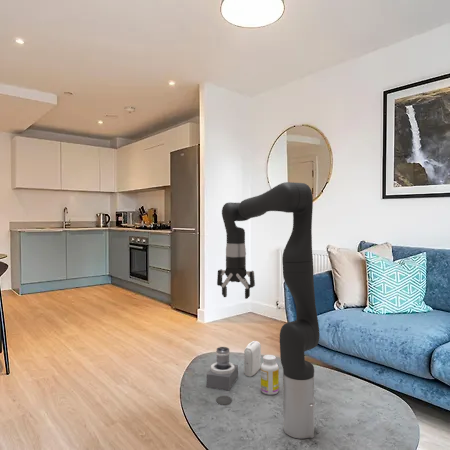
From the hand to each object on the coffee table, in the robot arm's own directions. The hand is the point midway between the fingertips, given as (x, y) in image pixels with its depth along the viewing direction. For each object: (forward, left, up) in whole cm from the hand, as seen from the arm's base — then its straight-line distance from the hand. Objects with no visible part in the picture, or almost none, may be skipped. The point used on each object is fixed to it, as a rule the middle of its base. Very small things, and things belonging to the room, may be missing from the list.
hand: (235, 297), depth 139 cm
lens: (+6, -2, -29) cm, 30 cm away
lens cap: (+1, +12, -34) cm, 37 cm away
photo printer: (-3, -15, -34) cm, 38 cm away
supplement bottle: (-13, 0, -34) cm, 37 cm away
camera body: (+6, -2, -34) cm, 35 cm away
